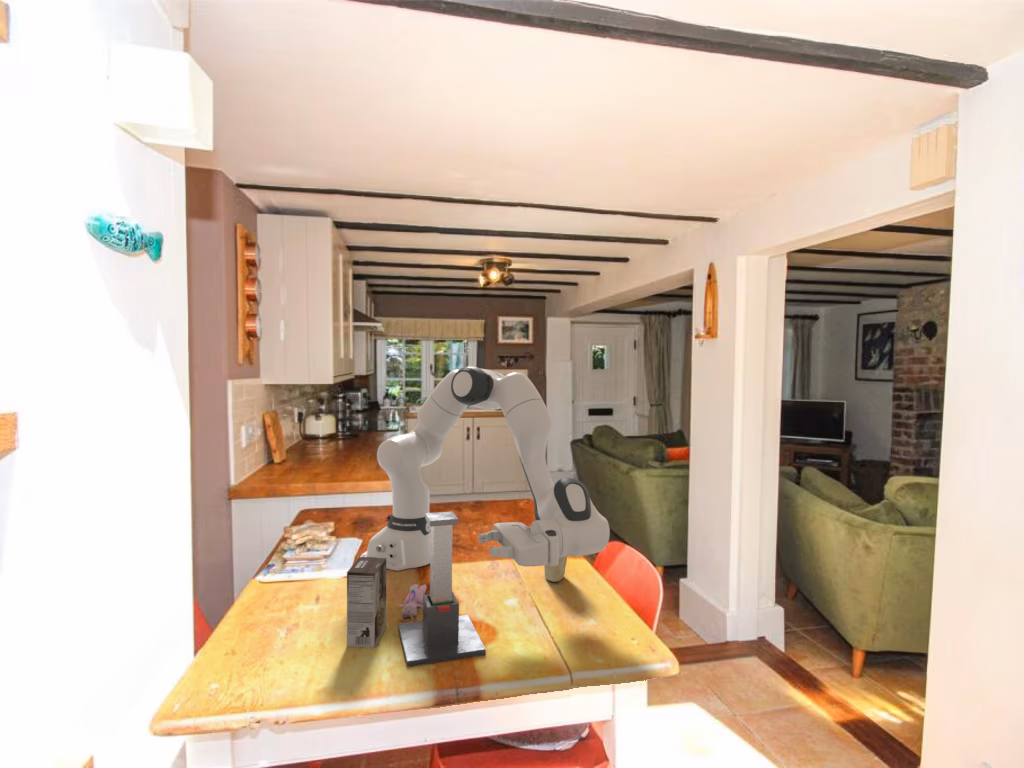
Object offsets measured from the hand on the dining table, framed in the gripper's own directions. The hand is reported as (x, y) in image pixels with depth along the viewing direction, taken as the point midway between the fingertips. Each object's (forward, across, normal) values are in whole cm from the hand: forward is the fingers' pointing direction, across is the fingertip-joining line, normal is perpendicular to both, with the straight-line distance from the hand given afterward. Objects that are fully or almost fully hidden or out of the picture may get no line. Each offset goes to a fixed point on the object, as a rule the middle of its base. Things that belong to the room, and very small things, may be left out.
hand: (484, 545), depth 117 cm
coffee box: (+25, -7, +20) cm, 33 cm away
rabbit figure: (+13, -18, +20) cm, 30 cm away
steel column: (+10, 0, +14) cm, 17 cm away
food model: (-28, -26, +20) cm, 43 cm away
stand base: (+10, 0, +20) cm, 22 cm away
